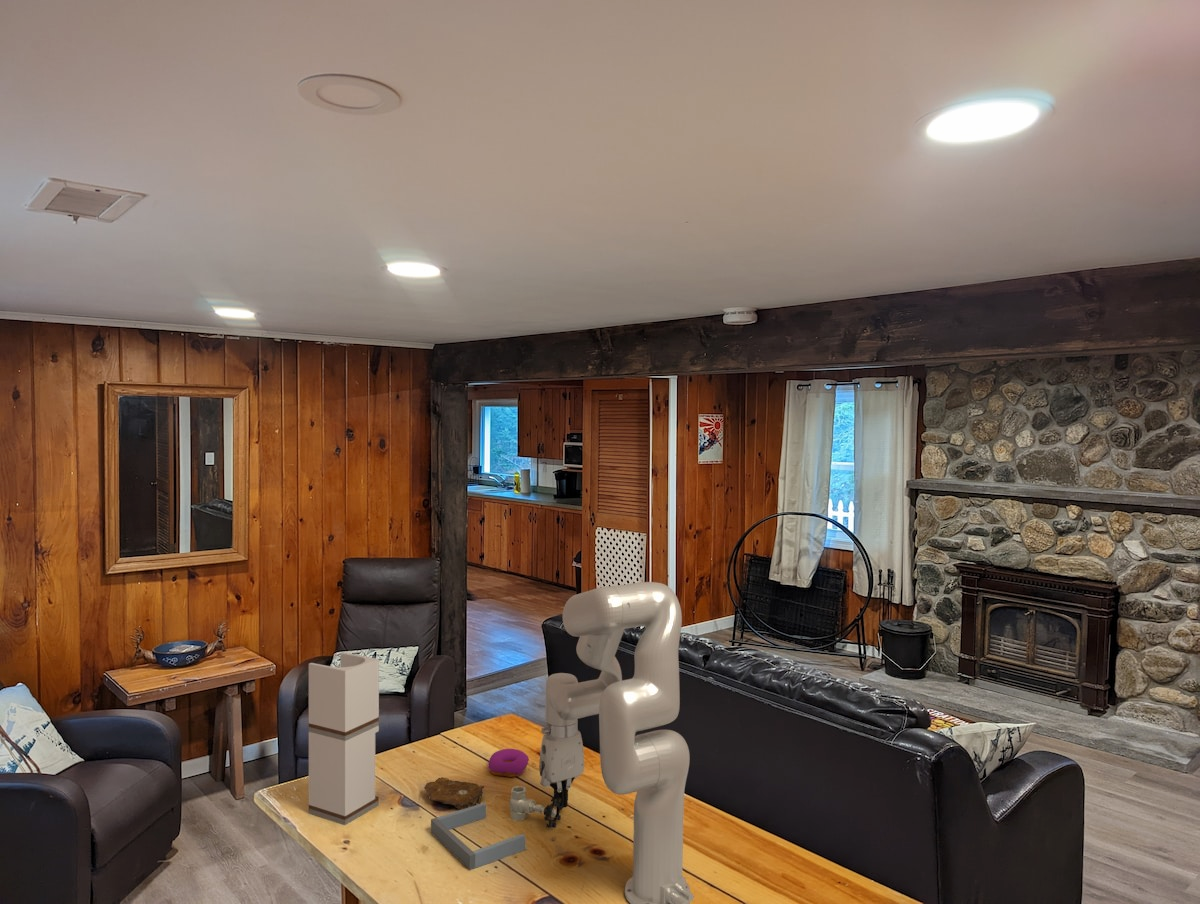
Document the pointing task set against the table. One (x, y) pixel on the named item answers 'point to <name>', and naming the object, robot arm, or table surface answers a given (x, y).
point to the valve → (532, 807)
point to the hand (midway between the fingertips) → (560, 805)
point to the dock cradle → (460, 850)
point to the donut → (508, 762)
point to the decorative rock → (454, 792)
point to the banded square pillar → (343, 737)
